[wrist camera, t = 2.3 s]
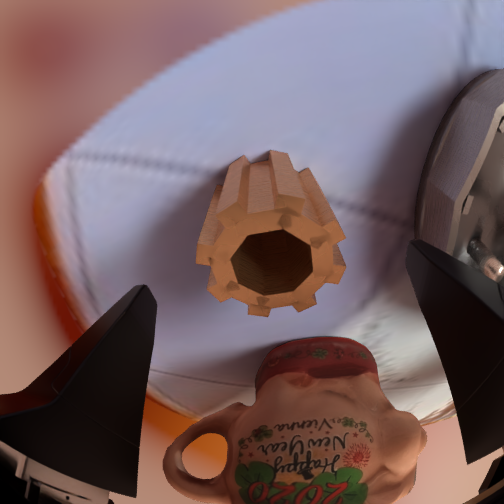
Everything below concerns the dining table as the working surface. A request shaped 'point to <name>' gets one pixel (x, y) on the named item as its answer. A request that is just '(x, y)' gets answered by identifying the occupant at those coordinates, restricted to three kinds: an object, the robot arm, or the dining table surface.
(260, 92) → the dining table surface
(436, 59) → the dining table surface
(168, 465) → the terracotta mug
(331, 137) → the dining table surface
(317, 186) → the bronze pinion
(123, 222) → the dining table surface
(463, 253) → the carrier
